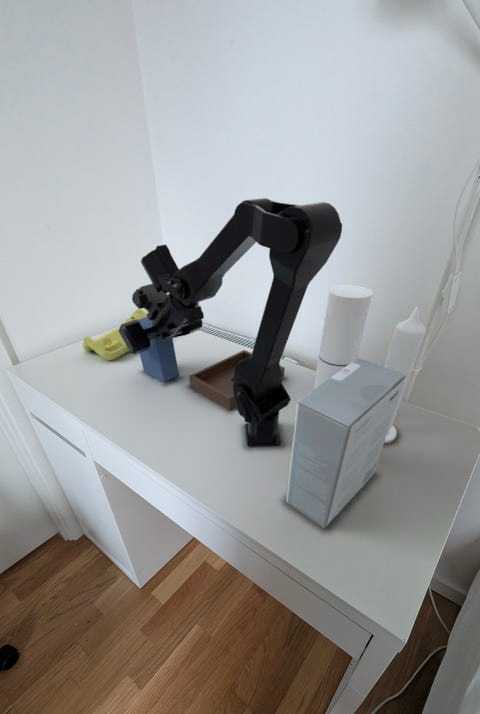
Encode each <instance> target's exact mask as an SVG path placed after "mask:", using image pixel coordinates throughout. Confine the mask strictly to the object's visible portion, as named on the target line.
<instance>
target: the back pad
mask: <svg viewBox="0 0 480 714" xmlns="http://www.w3.org/2000/svg"><path fill="white" fill-rule="evenodd" d="M137 321H139V322H140V324H141V326H142V328H143V329H147V328H150V327H153V326H152V320H149V319H148V317H145V318H142V319H138V320H137ZM148 336H149V335H148ZM150 336H151V335H150ZM150 344H151V346H150V348H148V349H149V350H146V351H143V352H141V353H139V356H140V360H141V366H142V369H143V373H146V374H147V375H150V376H151V377H153V378H155V379H157V380H159V381H161V382H163V383H166V382H168V381H171V380H172V379H174V378H178V377H179V376H180V374H179V372H180V371H179V367H178V361H177V356H176V350H175V345H174V338H172V337H169V338H167V339H164V340H162V338H161V337H158V338H155V339H153V340H150Z"/></svg>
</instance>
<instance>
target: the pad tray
mask: <svg viewBox="0 0 480 714" xmlns="http://www.w3.org/2000/svg"><path fill="white" fill-rule="evenodd" d="M251 355H252V352H250V351H248V350H246V349H243V350H241V351H239V352H237V353H234V354H233V355H230V356H229V357H226V358H224V359H222V360H219V361H218V362H216V363H213V364H212V365H209V366H207V367H205V368H203V369H201V370H198V371H196V372H194V373H192V374H190V375H188V378H189V379H188V380H189V387H190V388H191V389H193V390H194V391H195V392H198V393H200V394H202V395H203V396H205V397H207V398H208V399H210V400H211V401H213V402H215V404H218V405H220V406H222V407H223V408H224V409H227V410H228V411H231V410H234V409H235V408H237V404H236V400H235V397H234V392H233V383H234V382H232V381H231V379H232V378H233V376H234V372H235V366H236V364H237V363H238V362H240V361H242V360H244V359H246V358H248V357H250V356H251ZM280 367H281V370H282V378H281V381H282V380H284V378H285V369H286V368H285V367H284V366H282V365H280Z"/></svg>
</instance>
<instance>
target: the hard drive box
mask: <svg viewBox="0 0 480 714" xmlns="http://www.w3.org/2000/svg"><path fill="white" fill-rule="evenodd" d="M404 380H405V374H402V373H399V372H397V371H394V370H391V369H388V368H385V367H384V365H383V366H382V365H379V364H377V363H374V362H371V361H368V360H366V359H363V358H359V357H357V359H356V360H354V361H353V362H351V363H350V364H349V365H347V366H346V367H344V368H343V369H342V370H340V371H339V372H337V373H336V374H335V375H333V376H332V377H331V378H329V379H328V380H327V381H325V382H324V383H322V384H321V385H319V386H318V387H317V388H315V389H314V388H313V390H311V391H309V392H308V393H307V394H306V395H304V396H303V397H301V398H300V399H298V400H297V401H296V408H295V419H294V427H293V437H292V445H291V454H290V455H291V456H290V463H289V473H288V479H287V481H288V483H287V491H286V500H285V502H286V503H287V504H288V505H289V506H291V507H292V508H294V509H295V510H297V511H298V512H299V513H301V514H302V515H304V516H305V517H307V518H308V519H310V520H311V521H312V522H314V523H315V524H317V525H318V526H319V527H321V528H323V529H326V528H327V526H329V524H330V523H331V522H332V521H333V520H334V519H335V517H336V516H337V515H338V514H339V513H340V512H341V511H342V510H343V509H344V508H345V507H346V505H348V503H349V502H350V501H351V500H352V499H353V498H354V497H355V495H356V494H357V493H358V492H360V490H361V489H362V488H364V486H365V485H366V484H367V482H368V481H369V480H370V479H371V478H372V477H373V476H374V475H375V472H376V469H377V466H378V463H379V460H380V456H381V453H382V450H383V447H384V445H385V443H384V441H385V438H386V435H387V432H388V429H389V426H390V423H391V420H392V417H393V414H394V411H395V408H396V405H397V402H398V399H399V396H400V393H401V390H402V387H403V384H404Z"/></svg>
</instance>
